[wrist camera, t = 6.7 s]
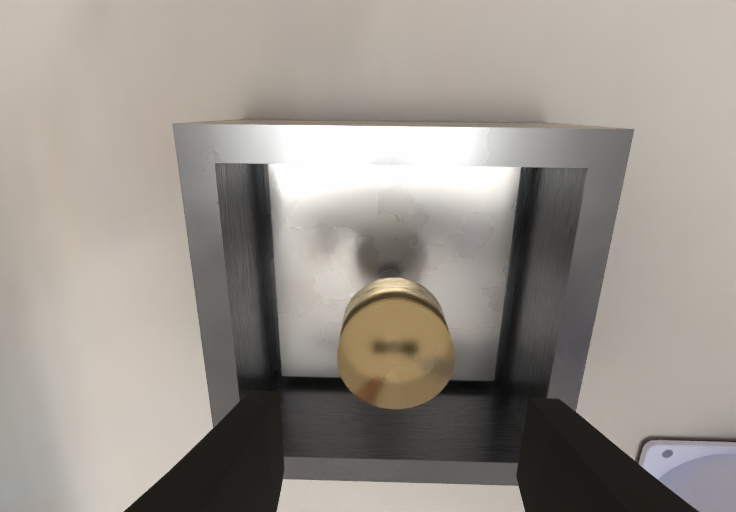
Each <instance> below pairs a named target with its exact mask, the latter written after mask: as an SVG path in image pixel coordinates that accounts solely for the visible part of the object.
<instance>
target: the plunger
mask: <svg viewBox="0 0 736 512" xmlns="http://www.w3.org/2000/svg"><path fill="white" fill-rule="evenodd" d="M268 172H269V188H270V203H271V218H272V234H273V249H274V264H275V279H276V295H277V310H278V325H279V341H280V356H281V371H282V376H299V377H341V378H342V380H343V382H344V383H345V385H346V386H347V387H348V389H349V390H350V391H351V392H352V393H353V394H354V395H356V396H357V397H358V398H360V399H361V400H363V401H365V402H367V403H369V404H371V405H374V406H377V407H381V408H386V409H405V408H411V407H415V406H418V405H420V404H423V403H425V402H427V401H429V400H430V399H432V398H433V397H435V396H436V395H437V394H438V393H440V392H441V391H442V389H443V388H444V387H445V386H446V385H447V383H448V382H449V380H469V381H494V377H495V369H496V361H497V354H498V346H499V338H500V330H501V322H502V314H503V306H504V299H505V291H506V283H507V275H508V267H509V259H510V251H511V244H512V236H513V228H514V220H515V212H516V204H517V196H518V188H519V181H520V173H521V167H476V166H404V165H331V164H268Z"/></svg>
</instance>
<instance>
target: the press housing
mask: <svg viewBox="0 0 736 512" xmlns="http://www.w3.org/2000/svg"><path fill="white" fill-rule="evenodd" d="M173 131H174V138H175V146H176V153H177V161H178V168H179V176H180V183H181V191H182V198H183V206H184V213H185V220H186V228H187V235H188V243H189V250H190V258H191V265H192V273H193V280H194V288H195V295H196V303H197V310H198V318H199V325H200V333H201V340H202V348H203V355H204V363H205V370H206V377H207V385H208V392H209V400H210V407H211V415H212V422H213V428H214V427H215V426H216V425H217V424H218V423H219V422H220V421H221V420H222V419H223V418H224V417H225V416H226V415H227V414H228V413H229V412H230V411H231V410H232V408H233V407H234V406H235V405H236V404H237V403H238V402H239V401H240V400H241V399H242V398H243V397H244V396H245V395H246V394H248V393H249V392H250V391H269V392H279V395H280V409H281V424H282V439H283V453H284V468H285V470H284V475H283V479H302V480H338V481H373V482H409V483H444V484H480V485H515V486H519V485H518V481H517V477H516V474H517V467H518V461H519V455H520V449H521V443H522V436H523V430H524V424H525V418H526V411H527V405H528V399H529V398H553V399H560V400H561V401H562V402H564V403H565V404H566V405H568V406H569V407H570V408H571V409H573V410H574V411H575V412H576V408H577V403H578V398H579V393H580V388H581V383H582V379H583V374H584V369H585V364H586V359H587V354H588V350H589V345H590V340H591V335H592V330H593V325H594V321H595V316H596V311H597V306H598V301H599V297H600V292H601V287H602V282H603V277H604V272H605V268H606V263H607V258H608V253H609V248H610V243H611V239H612V234H613V229H614V224H615V219H616V214H617V210H618V205H619V200H620V195H621V190H622V185H623V181H624V176H625V171H626V166H627V161H628V157H629V152H630V147H631V142H632V137H633V132H634V129H624V128H610V127H596V126H582V125H568V124H554V123H509V122H424V121H339V120H255V119H240V120H224V121H208V122H192V123H176V124H173ZM268 164H331V165H404V166H476V167H521V173H520V181H519V188H518V196H517V204H516V212H515V220H514V228H513V236H512V244H511V251H510V259H509V267H508V275H507V283H506V291H505V299H504V306H503V314H502V322H501V330H500V338H499V346H498V354H497V361H496V369H495V377H494V381H469V380H449V382H448V383H447V385H446V386H445V387H444V388H443V389H442V391H441V392H440V393H438V394H437V395H436V396H435V397H433V398H432V399H430V400H429V401H427V402H425V403H423V404H420V405H418V406H415V407H411V408H405V409H386V408H381V407H377V406H374V405H371V404H369V403H367V402H365V401H363V400H361V399H360V398H358V397H357V396H356V395H354V394H353V393H352V392H351V391H350V390H349V389H348V387H347V386H346V385H345V383H344V382H343V380H342V378H341V377H299V376H282V371H281V356H280V341H279V325H278V310H277V295H276V279H275V264H274V249H273V234H272V218H271V203H270V188H269V172H268Z"/></svg>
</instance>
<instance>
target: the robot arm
mask: <svg viewBox="0 0 736 512" xmlns="http://www.w3.org/2000/svg"><path fill="white" fill-rule="evenodd" d="M284 470H285V468H284V453H283V439H282V424H281V409H280V395H279V392H269V391H250V392H249V393H248V394H246V395H245V396H244V397H243V398H242V399H241V400H240V401H239V402H238V403H237V404H236V405H235V406H234V407H233V408H232V410H231V411H230V412H229V413H228V414H227V415H226V416H225V417H224V418H223V419H222V420H221V421H220V422H219V423H218V424H217V425H216V426H215V427H214V428H213V429H212V430H211V431H210V432H209V433H208V434H207V435H206V436H205V437H204V438H203V439H202V440H201V441H200V442H199V443H198V444H197V445H196V446H195V447H194V448H193V449H192V450H191V451H190V452H188V453H187V454H186V455H185V456H184V457H183V458H182V459H181V460H180V461H179V462H178V463H177V464H176V465H175V466H174V467H173V468H172V469H171V470H170V471H169V472H168V473H167V474H165V475H164V476H163V477H162V478H161V479H160V480H159V481H158V482H157V483H155V484H154V485H153V486H152V487H151V488H150V489H149V490H148V491H146V492H145V493H144V494H143V495H142V496H141V497H140V498H139V499H137V500H136V501H135V502H134V503H133V504H132V505H131V506H130V507H128V508H127V509H126V510H125V511H124V512H276V511H277V506H278V501H279V496H280V491H281V486H282V480H283V475H284ZM516 477H517V481H518V485H519V489H520V493H521V497H522V501H523V504H524V508H525V512H736V442H710V441H671V440H652V441H649V442H647V443H646V444H645V445H644V447H643V449H642V453H641V456H640V460H639V464H638V463H637V462H635V461H634V460H633V459H632V458H630V457H629V456H628V455H627V454H626V453H624V452H623V451H622V450H621V449H619V448H618V447H617V446H616V445H615V444H613V443H612V442H611V441H610V440H609V439H607V438H606V437H605V436H604V435H603V434H602V433H600V432H599V431H598V430H597V429H596V428H594V427H593V426H592V425H591V424H590V423H588V422H587V421H586V420H585V419H584V418H582V417H581V416H580V415H579V414H578V413H576V412H575V411H574V410H573V409H571V408H570V407H569V406H568V405H566V404H565V403H564V402H562V401H561V400H560V399H553V398H529V399H528V405H527V411H526V418H525V424H524V430H523V436H522V443H521V449H520V455H519V461H518V467H517V474H516Z"/></svg>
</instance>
